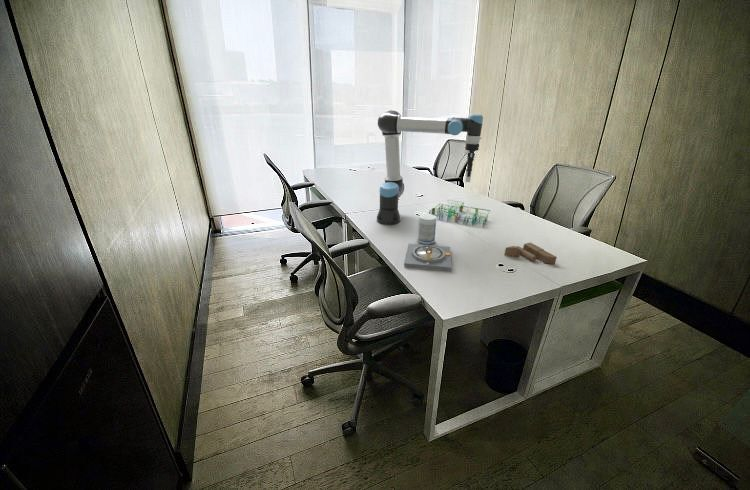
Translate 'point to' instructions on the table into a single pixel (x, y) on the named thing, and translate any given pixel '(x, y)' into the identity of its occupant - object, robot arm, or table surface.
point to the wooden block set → (531, 253)
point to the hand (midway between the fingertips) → (467, 179)
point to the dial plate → (434, 264)
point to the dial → (428, 252)
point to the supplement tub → (426, 228)
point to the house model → (459, 214)
